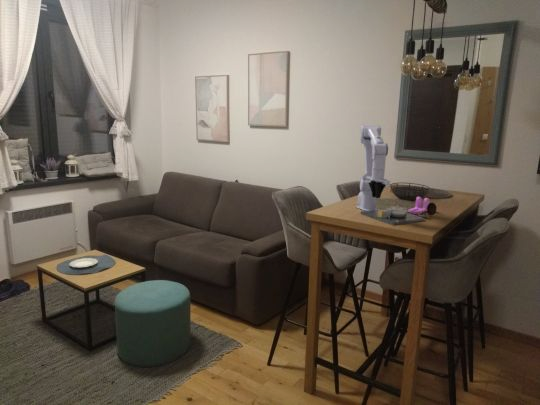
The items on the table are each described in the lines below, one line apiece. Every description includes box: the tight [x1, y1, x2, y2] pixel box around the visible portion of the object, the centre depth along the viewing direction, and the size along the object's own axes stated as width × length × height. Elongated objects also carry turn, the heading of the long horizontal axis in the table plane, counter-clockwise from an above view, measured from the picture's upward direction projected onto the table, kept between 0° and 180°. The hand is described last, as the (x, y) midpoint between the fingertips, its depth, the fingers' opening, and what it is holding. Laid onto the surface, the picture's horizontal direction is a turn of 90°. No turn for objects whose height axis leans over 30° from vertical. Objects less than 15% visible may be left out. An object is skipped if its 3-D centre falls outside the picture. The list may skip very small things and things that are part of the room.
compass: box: [416, 202, 437, 219], centre depth 198 cm, size 8×8×7 cm
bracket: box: [407, 196, 430, 215], centre depth 210 cm, size 13×6×7 cm, turn 135°
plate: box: [360, 208, 425, 226], centre depth 197 cm, size 22×20×1 cm
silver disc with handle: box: [378, 204, 408, 217], centre depth 194 cm, size 15×9×4 cm, turn 117°
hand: (376, 197), depth 196 cm, fingers closed
